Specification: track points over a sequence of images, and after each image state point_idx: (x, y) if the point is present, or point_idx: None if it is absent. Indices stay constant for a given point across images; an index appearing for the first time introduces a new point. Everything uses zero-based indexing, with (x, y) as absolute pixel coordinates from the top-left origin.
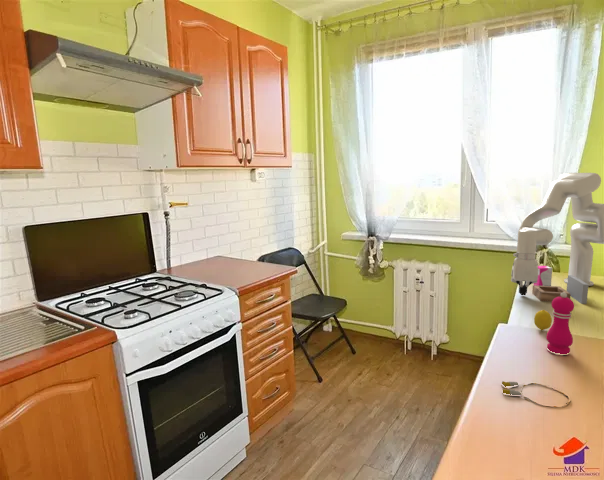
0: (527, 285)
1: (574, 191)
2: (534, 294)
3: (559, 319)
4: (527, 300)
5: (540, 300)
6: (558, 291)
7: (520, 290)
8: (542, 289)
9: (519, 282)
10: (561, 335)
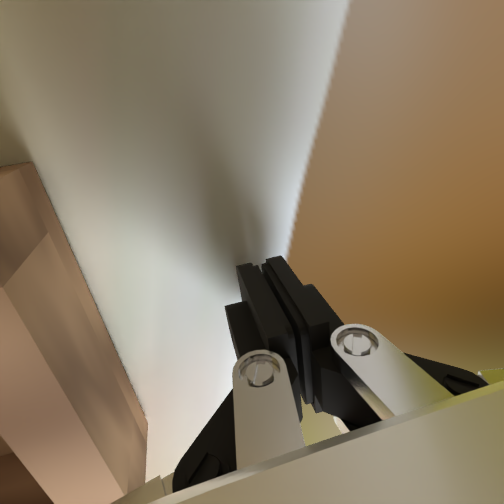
0: (255, 384)
1: None
2: (124, 381)
3: None
4: (215, 144)
5: (35, 174)
6: None
7: (318, 301)
8: (18, 493)
9: (429, 392)
10: None
